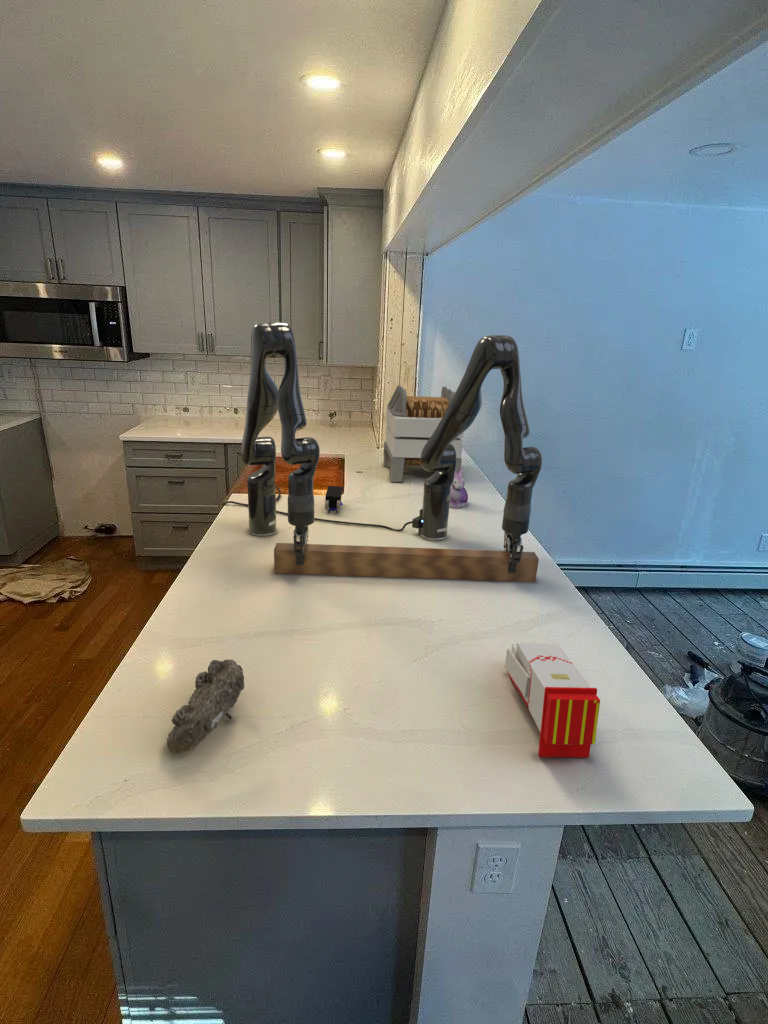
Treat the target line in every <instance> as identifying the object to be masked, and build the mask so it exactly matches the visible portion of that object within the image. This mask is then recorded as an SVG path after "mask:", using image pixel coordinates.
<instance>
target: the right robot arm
mask: <svg viewBox="0 0 768 1024" xmlns="http://www.w3.org/2000/svg"><path fill="white" fill-rule="evenodd" d="M519 352H520V351H519V348H518V343H517V341H516V339H514V337H512V336H510V335H506V334H500V335H499V334H490V335H484V336H483V337H481V338H480V339H479V340H478V342H477V343H476V345H475V346H474V348H473V351H472V354H471V356H470V359H469V361H468V365H467V367H466V370H465V372H464V374H463V377H461V380H460V382H459V384H458V386H457V388H456V390H455V391H454V392H455V394H454V396H453V398H452V399H451V401H450V403H449V405H448V407H447V409H446V411H445V414H444V415H443V417H442V419H441V421H440V423H439V424H438V426H437V428H436V430H435V431H434V433H433V434H432V436H431V437H430V439H429V440H428V442H427V443H426V444H425V446H424V448H423V450H422V453H421V457H420V462H421V466H420V467H422V469H423V470H424V471H426V472H430V473H431V472H432V473H433V472H434V473H433V474H432V475H431V476H429V477H427V478H426V479H425V480H424V482H423V493H422V496H423V497H422V506H421V508H420V509H419V515H418V516H416V517H413V518H412V520H410V521H408V522H405V523H404V524H403V526H402V527H401V528H399V529H396V528H392V527H389V526H387V525H382V524H376V523H375V524H374V523H361V522H351V521H341V520H332V519H325V518H320V517H319V518H318V517H314V521H320V522H325V523H326V522H327V523H335V524H343V525H354V526H364V527H377V528H384V529H387V530H390V531H394V532H402V531H404V529H405V528H406V527H407V526H408V525H411V527H412V528H413V529H417V535H418V536H420V538H421V539H424V540H426V541H432V542H440V541H444V540H446V539H447V538H448V525H449V517H450V516H449V514H450V493H451V489H452V484H453V481H454V475H455V468H456V450H455V448H454V446H453V445H452V444H450V443H451V442H452V441H453V440H454V439H455V438H457V437H458V436H459V435H460V434H462V433H463V434H464V432H466V431H467V430H468V429H469V428H470V427H471V426H472V424H473V423H474V421H475V420H476V418H477V416H478V415H479V413H480V411H481V408H482V406H483V405H482V404H483V395H482V386H483V383H484V381H485V380H486V378H487V376H488V374H489V373H490V372H491V371H492V370H499V371H500V373H501V377H502V382H503V389H502V396H501V400H500V405H499V418H500V422H501V427H502V431H503V435H504V441H503V442H504V447H503V448H504V450H503V452H504V453H503V460H504V464H505V466H506V468H507V470H508V471H509V472H510V473H511V474H515V475H516V477H515V478H513V479H511V480H510V481H508V483H507V489H506V497H505V503H504V507H503V515H502V522H501V530H502V531H504V534H503V535H504V537H503V546H502V547H503V549H504V550H503V551H508V553H509V554H510V555H509V567H508V572H509V573H516V568H517V562H518V563H520V560H521V556H522V552H524V551H523V550H524V545H523V539H522V537H521V536H523V535H525V534H527V533H528V532H529V527H530V519H531V513H532V499H533V490H534V486H535V485H536V482H537V480H538V478H539V475H540V472H541V469H542V466H543V456H542V453H541V451H540V450H539V449H538V448H537V447H535V446H525V447H523V445H524V444H523V443H524V439H526V438H528V437H529V436H530V433H531V431H530V425H529V421H528V417H527V413H526V409H525V404H524V398H523V389H522V375H521V364H520V353H519ZM227 504H234V505H239V506H245V507H248V503H244V502H243V503H242V502H237V501H233V500H228V501H225V502H223V503H222V506H225V505H227ZM276 514H280V515H281V514H282V515H285V516H288V512H284V511H280V510H276ZM515 556H516V558H514V557H515Z"/></svg>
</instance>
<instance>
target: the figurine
mask: <svg viewBox="0 0 768 1024" xmlns="http://www.w3.org/2000/svg"><path fill="white" fill-rule="evenodd" d="M463 474H464V468H461V469H460V471H459V473H457V472H456V470H455V475H454V481H453V484H452V486H451V493H450V505H449V508H454V509H455V508H456V509H459V508H464V507H466V506H467V504H468V500H469V495H468V491H467V489H466V487H465V484H466V483H465V479H464V477H463V476H464V475H463Z"/></svg>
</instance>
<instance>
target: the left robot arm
mask: <svg viewBox="0 0 768 1024" xmlns="http://www.w3.org/2000/svg"><path fill="white" fill-rule="evenodd" d="M294 334H295V333H294V332H293V329H292V326H291V325H290V324H289V323H288V322H284V321H283V322H282V321H281V322H259V323H256V324H255V325H254V326H253V327H252V330H251V335H250V336H251V337H250V338H251V339H250V372H249V383H248V389H247V399H246V413H245V414H246V415H245V424H244V430H243V435H242V440H241V445H240V446H241V447H240V455H241V456H240V457H241V460H242V462H243V464H244V465H245V466H253V467H254V466H261V467H260V468H259V469H258V470H256V471H254V472H252V473H250V474H249V475H248V476H247V478H246V487H247V504H248V506H247V507H248V508H247V510H248V533H249V534H250V535H252V536H256V537H268V536H272V535H274V534H276V533H277V532H278V529H277V513H276V511H277V502H278V500H279V499H280V497H281V495H282V492H281V490H280V488H279V487H278V486H277V485H276V467H277V466H276V465H277V464H276V463H277V447H276V446H277V445H276V441H275V439H274V438H273V437H272V436H259V434H260V433H261V432H262V431H263V430H264V429H265V428H266V426H268V425H269V424H270V423H271V422H272V421H273V419H274V418H275V417H276V415H277V413H278V416H279V421H280V425H281V426H280V427H281V438H280V441H281V442H280V454H281V457H282V459H283V461H284V462H285V463H286V464H287V465H290V466H295V465H299V467H298V468H297V469H294V470H293V471H291V472H290V473H288V477H287V478H288V479H287V480H288V481H287V484H288V491H287V493H288V494H287V513H288V515H287V522H288V524H290V525H291V526H294V529H293V536H292V537H293V543H294V554H296V565H299V566H302V565H303V564H304V546H306V544H308V541H309V535H310V533H309V531H310V527H309V526H311V525H312V524H314V522H315V520H314V518H315V495H314V478H315V474H316V470H317V466H318V462H319V460H320V453H321V450H320V444H319V442H318V441H317V440H316V438H314V437H312V436H306V437H298V438H296V433H297V432H298V431H300V430H303V429H305V428H306V427H307V423H308V422H307V417H306V412H305V408H304V403H303V400H302V394H301V389H300V378H299V377H300V376H299V367H298V366H299V365H298V357H297V346H296V340H295V335H294ZM270 358H271V359H272V358H282V359H283V364H284V365H283V366H284V369H283V370H284V371H283V376H282V379H281V382H280V385H279V388H278V386H277V384H276V382H275V381H274V380H273V378H272V377H271V375H270V373H269V371H268V369H267V367H266V362H267V359H270ZM276 490H277V491H278V496H277V497H276V495H277V494H276ZM297 547H301V550H297Z"/></svg>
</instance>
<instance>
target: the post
mask: <svg viewBox="0 0 768 1024" xmlns="http://www.w3.org/2000/svg"><path fill="white" fill-rule="evenodd" d="M297 550H301V547H297ZM509 555H510V554H509V553H508V551H504V550H491V549H489V550H487V549H463V548H461V549H460V548H459V549H458V548H432V547H405V546H404V547H403V546H377V545H376V546H374V545H349V544H348V545H347V544H319V543H317V544H316V543H307V544H306V546H304V564H303V565H302V566H299V565H296V554H294V542H293V543H291V542H290V543H289V542H276V543H275V546H274V548H273V563H274V564H273V571H274V572H273V573H274V574H284V575H285V574H286V575H290V574H291V575H310V576H311V575H313V576H314V575H315V576H343V577H344V576H345V577H370V578H371V577H372V578H375V577H376V578H379V577H380V578H400V579H401V578H402V579H403V578H404V579H428V580H429V579H430V580H433V579H434V580H460V581H462V580H463V581H489V582H491V581H493V582H518V583H519V582H521V583H536V582H537V581H536V580H537V574H538V568H539V562H540V558H539V557H538V555H537V554H536V551H522V556H521V560H520V563H518V562H517V568H516V573H509V572H508V567H509ZM514 558H516V556H515V557H514Z"/></svg>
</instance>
